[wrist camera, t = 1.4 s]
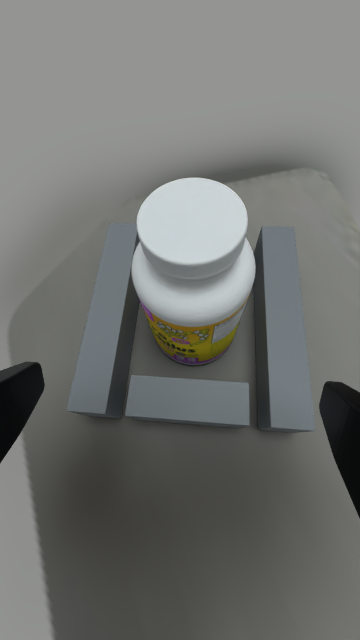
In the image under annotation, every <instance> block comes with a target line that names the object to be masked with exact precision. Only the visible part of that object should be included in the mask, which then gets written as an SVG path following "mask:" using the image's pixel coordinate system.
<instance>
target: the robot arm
mask: <svg viewBox="0 0 360 640" xmlns="http://www.w3.org/2000/svg"><path fill="white" fill-rule="evenodd" d="M44 386H45V384H44V378H43V373H42V368H41V365H40V364H39V363H38V362H24V363H21V364H18V365H15V366H12V367H10V368H7V369H4V370H1V371H0V463H1V461H2V460H3V458H4V457H5V455H6V454H7V452H8V451H9V450H10V448H11V446H12V445H13V444H14V442H15V441H16V439H17V437H18V436H19V434H20V433H21V431H22V429H23V428H24V426H25V424H26V422H27V421H28V419H29V417H30V415H31V413H32V411H33V409H34V408H35V406H36V404H37V402H38V400H39V398H40V396H41V395H42V393H43V390H44ZM319 409H320V414H321V417H322V420H323V424H324V427H325V430H326V434H327V437H328V440H329V443H330V447H331V450H332V453H333V456H334V459H335V461H336V464H337V466H338V469H339V471H340V474H341V476H342V478H343V481H344V483H345V485H346V488H347V490H348V492H349V495H350V497H351V499H352V502H353V504H354V506H355V509H356V511H357V513H358V516H359V518H360V392H358V391H356V390H354V389H353V388H351V387H349V386H347V385H345V384H344V383H342V382H333V381H327V382H326V383H325V384H324V387H323V391H322V395H321V399H320V404H319Z"/></svg>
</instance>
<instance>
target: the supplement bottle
mask: <svg viewBox="0 0 360 640" xmlns="http://www.w3.org/2000/svg"><path fill="white" fill-rule="evenodd" d="M247 224H248V218H247V212H246V208H245V206H244V204H243V202H242V200H241V199H240V197H239V196H238V195H237V194H236V193H235V192H234V191H233V190H231V189H230V188H228V187H227V186H225V185H223V184H221V183H219V182H216V181H213V180H209V179H204V178H185V179H179V180H175V181H172V182H169V183H167V184H165V185H163V186H161V187H159V188H158V189H156V190H155V191H154V192H152V193H151V194H150V195H149V196H148V197H147V198H146V200H145V201H144V203H143V204H142V206H141V208H140V210H139V213H138V216H137V231H138V236H139V240H140V242H139V244H138V246H137V247H136V250H135V252H134V256H133V260H132V280H133V284H134V287H135V290H136V292H137V295H138V297H139V300H140V302H141V305H142V307H143V310H144V312H145V315H146V317H147V320H148V322H149V325H150V327H151V330H152V332H153V335H154V337H155V340H156V342H157V344H158V345H159V347H160V348H161V350H162V351H163V352H164V353H165V354H166V355H167V356H168V357H170V358H171V359H173V360H175V361H177V362H179V363H182V364H187V365H202V364H206V363H209V362H211V361H214V360H215V359H217V358H219V357H220V356H221V355H222V354H223V353H224V352H225V351H226V350H227V349H228V347H229V346H230V344H231V342H232V340H233V338H234V335H235V333H236V330H237V327H238V324H239V322H240V319H241V316H242V313H243V311H244V308H245V305H246V302H247V300H248V297H249V295H250V292H251V289H252V286H253V283H254V279H255V269H256V266H255V258H254V254H253V251H252V248H251V246H250V244H249V242H248V241H247V239H246V238H245V236H246V230H247Z"/></svg>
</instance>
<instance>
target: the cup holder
mask: <svg viewBox="0 0 360 640" xmlns="http://www.w3.org/2000/svg"><path fill="white" fill-rule="evenodd" d="M245 238H246V236H245ZM139 242H140V240H139V236H138V231H137V224H129V223H109V226H108V230H107V234H106V239H105V243H104V247H103V252H102V256H101V261H100V265H99V269H98V274H97V278H96V282H95V287H94V291H93V295H92V300H91V304H90V309H89V313H88V317H87V322H86V326H85V330H84V335H83V339H82V343H81V348H80V352H79V357H78V361H77V365H76V370H75V374H74V378H73V383H72V387H71V391H70V396H69V400H68V405H67V409H66V411H69V412H74V413H78V414H82V415H87V416H95V417H107V418H119V419H121V418H122V411H123V405H124V398H125V392H126V385H127V379H128V372H129V366H130V359H131V352H132V346H133V339H134V333H135V326H136V320H137V313H138V307H139V297H138V295H137V292H136V290H135V287H134V284H133V280H132V260H133V256H134V252H135V250H136V247H137V246H138V244H139ZM254 258H255V266H256V269H255V279H254V317H255V352H256V387H257V422H258V430H267V431H279V432H292V433H295V432H307V431H315V422H314V412H313V402H312V393H311V383H310V374H309V364H308V354H307V345H306V335H305V326H304V316H303V306H302V297H301V287H300V278H299V268H298V258H297V249H296V239H295V230H294V227H275V226H262V228H261V231H260V234H259V238H258V241H257V244H256V248H255V251H254ZM125 416H128V417H131V418H134V419H136V420H144V421H156V422H169V423H181V424H193V425H206V426H218V427H230V428H243V427H246V426H250V425H249V383H243V382H228V381H214V380H199V379H184V378H169V377H154V376H139V375H131V378H130V385H129V392H128V398H127V405H126V412H125Z"/></svg>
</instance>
